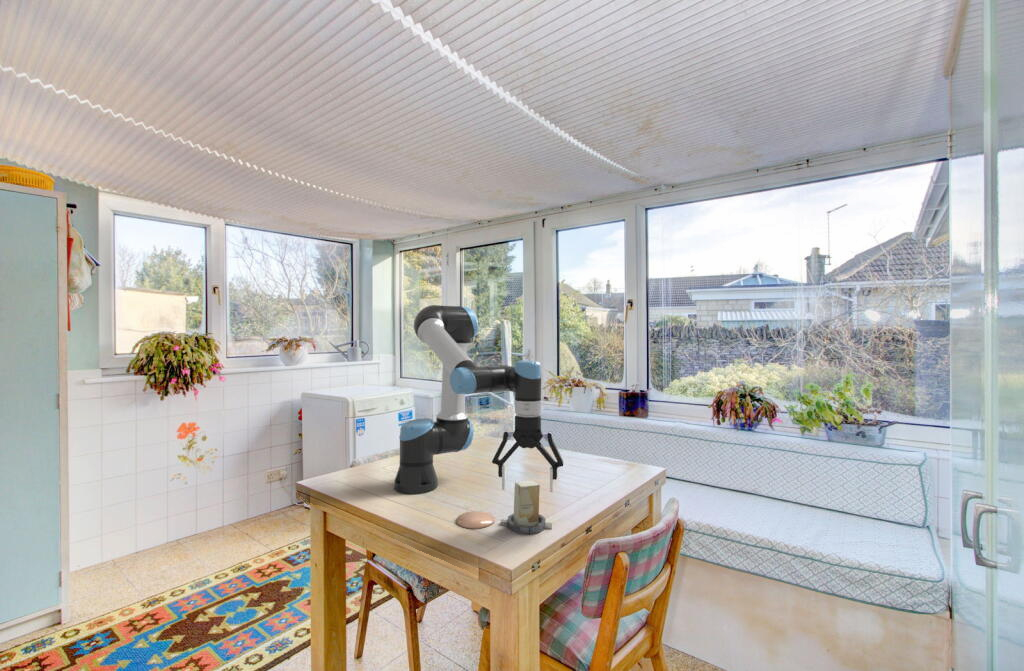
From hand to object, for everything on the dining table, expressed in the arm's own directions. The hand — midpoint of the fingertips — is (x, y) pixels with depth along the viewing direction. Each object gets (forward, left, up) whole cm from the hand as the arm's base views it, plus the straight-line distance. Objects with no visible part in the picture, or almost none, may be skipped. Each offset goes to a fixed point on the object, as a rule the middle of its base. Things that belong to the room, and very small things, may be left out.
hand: (527, 489), depth 129 cm
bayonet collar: (0, 0, -10) cm, 10 cm away
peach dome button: (-15, +1, -10) cm, 18 cm away
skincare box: (0, 0, -11) cm, 11 cm away
